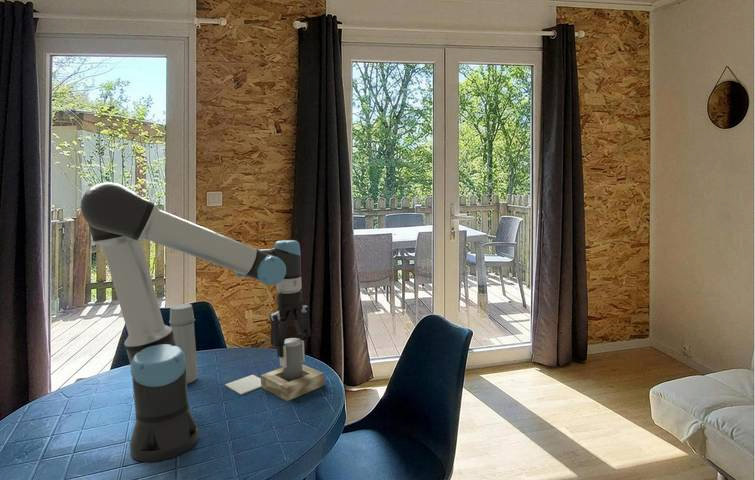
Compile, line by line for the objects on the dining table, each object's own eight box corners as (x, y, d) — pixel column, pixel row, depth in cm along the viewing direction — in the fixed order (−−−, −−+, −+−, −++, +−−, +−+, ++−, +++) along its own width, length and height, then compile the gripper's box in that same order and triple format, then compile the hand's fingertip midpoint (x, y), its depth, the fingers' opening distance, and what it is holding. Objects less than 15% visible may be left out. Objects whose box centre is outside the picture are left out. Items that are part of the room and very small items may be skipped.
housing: (287, 401, 130) (286, 388, 130) (261, 387, 140) (260, 375, 139) (324, 385, 140) (323, 373, 140) (297, 373, 150) (297, 362, 149)
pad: (240, 395, 135) (240, 393, 135) (225, 385, 141) (224, 384, 141) (269, 384, 142) (269, 383, 142) (252, 375, 149) (252, 374, 149)
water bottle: (193, 385, 142) (187, 309, 139) (169, 385, 142) (163, 309, 140) (204, 373, 151) (200, 302, 148) (182, 373, 151) (176, 302, 149)
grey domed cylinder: (290, 384, 135) (289, 345, 133) (279, 378, 139) (277, 341, 138) (306, 377, 139) (305, 340, 138) (295, 372, 143) (293, 336, 142)
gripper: (269, 298, 127) (273, 376, 129) (321, 287, 140) (323, 357, 143) (255, 294, 132) (259, 369, 134) (306, 284, 145) (309, 352, 148)
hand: (292, 363), depth 138 cm, fingers closed on grey domed cylinder, 6 cm apart
